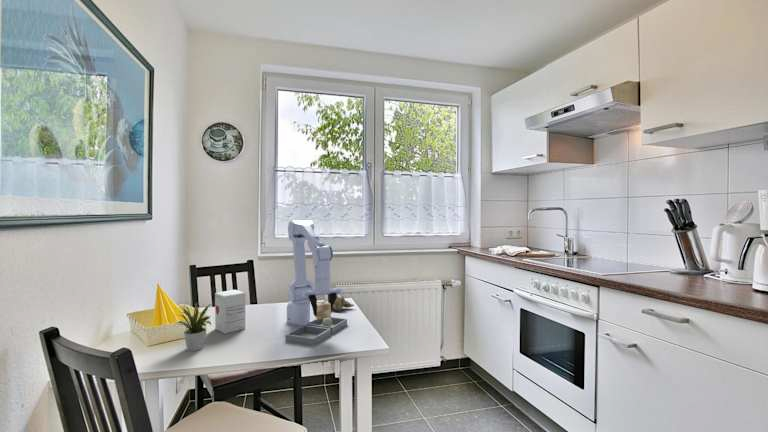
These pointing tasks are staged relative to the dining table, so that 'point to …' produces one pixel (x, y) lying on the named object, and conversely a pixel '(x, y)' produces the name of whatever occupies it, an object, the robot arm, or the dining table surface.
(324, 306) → the letter cube
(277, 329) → the dining table surface
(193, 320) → the house plant
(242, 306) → the supplement box
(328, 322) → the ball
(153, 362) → the dining table surface
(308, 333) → the tray near
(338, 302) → the ceramic sculpture
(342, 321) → the tray far
